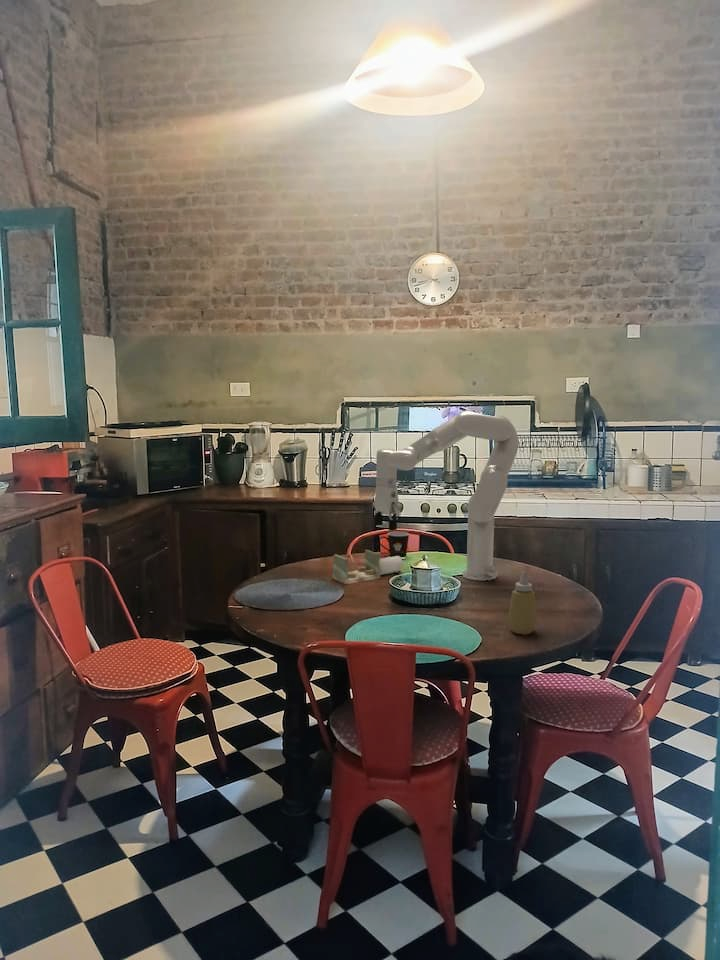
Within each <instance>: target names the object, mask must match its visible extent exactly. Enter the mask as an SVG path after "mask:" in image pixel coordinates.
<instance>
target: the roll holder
mask: <svg viewBox="0 0 720 960" xmlns="http://www.w3.org/2000/svg"><path fill="white" fill-rule="evenodd" d="M379 559H380V554H379V552H378V553H377V552H375V551H372V550H370V549H364V566H359V567H357V569H356V570H351V571H349V560H348V558H346V557H344V556H341V555H339V554H337V553H335V554H333V574H332V579H333V580H335V581H336V582H337V581H338V582H340V583H341V584H344V585H349V584H350V585H351V584H356V583H363V582H367V581H371V580H373V581H374V580H378V579H381V575H380V574H379Z"/></svg>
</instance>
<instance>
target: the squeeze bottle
mask: <svg viewBox="0 0 720 960" xmlns="http://www.w3.org/2000/svg"><path fill="white" fill-rule="evenodd" d="M536 606H537V605H536V593H535V592H534V591H533V584H532V583H531V582H529V580H528V574H527V571H526V570H524V571H522V572H521V574H520V578H519V581H517V582H516V583H515V589H514V590H512V592H511V598H510V606H509V611H508V621H509V622H508V623H509V625H510V629H511V632H513V633H514V634H519V635H530V634H532V633H533V631H534V629H535V626H536V623H537V607H536Z"/></svg>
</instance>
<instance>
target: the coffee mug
mask: <svg viewBox="0 0 720 960" xmlns="http://www.w3.org/2000/svg"><path fill="white" fill-rule="evenodd" d="M409 535H410V534H409V532H405V531H391V532H387V536H385V535H383V536H380V537H379V538H378V543H379V545H380V546H381V547H382V548H384V549H385V550H387V551H388V552H389V557H394V556H400V557H405V556H406V557H407V553H408V552H407V551H408V545H409ZM381 539H385V540H387V542H388V548H387V547H386V546H384V545H383V544H382V543H381Z"/></svg>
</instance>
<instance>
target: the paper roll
mask: <svg viewBox="0 0 720 960" xmlns="http://www.w3.org/2000/svg"><path fill="white" fill-rule="evenodd" d="M403 569H404V560H402V559H401V557H400V556H394V557H390V556H388V557H381V558H379V574H380V576H383V575H388V574H394V572H395V573H399V572H398V571H401V572H402V571H403Z"/></svg>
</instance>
